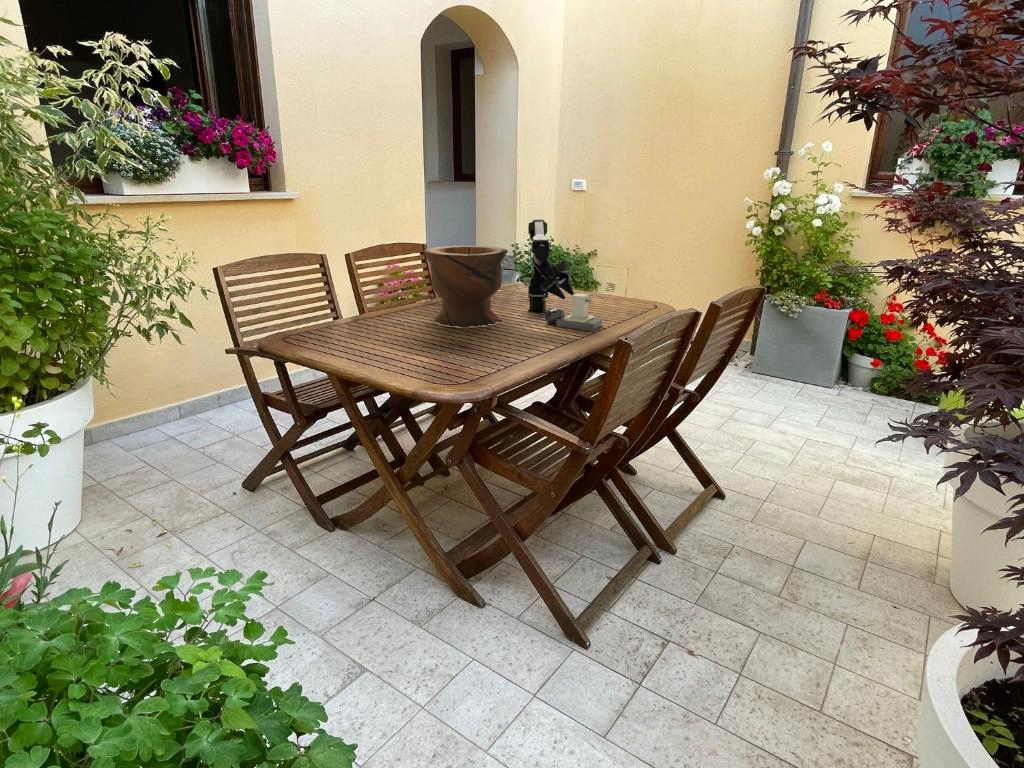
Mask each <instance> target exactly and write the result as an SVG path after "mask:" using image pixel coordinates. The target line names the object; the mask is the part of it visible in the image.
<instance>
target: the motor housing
mask: <svg viewBox="0 0 1024 768" xmlns="http://www.w3.org/2000/svg"><path fill="white" fill-rule="evenodd" d="M544 317H545V322H546V323H549V324H556V326H557V327H556V328H563V327H565V328H564V329H571V328H575V329H574V330H579V329H583V330H582V331H586V330H591V331H590V332H594V331H596V330H598V329H600V328H601V327H602V326H603V318H597V317H595V315H591V314H588V318H586V319H585V320H584V319H575V318H572V313H571V314H565V310H563V309H559V308H546V310H545V316H544ZM600 326H601V327H600ZM597 328H598V329H597ZM595 329H596V330H595Z"/></svg>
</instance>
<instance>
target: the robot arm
mask: <svg viewBox="0 0 1024 768" xmlns="http://www.w3.org/2000/svg"><path fill="white" fill-rule="evenodd" d="M527 232H528V233H527V235H529V240H530V241H531V242H530V250H531V251H530V252H531V254H532V258H531V259H532V265H533V266H532V273H533V274H532V277H530V278H531V280H530V285H528V286H527V289H528V290H527V297H528V299H529V309H527V312H533V313H542V312H546V311H547V306H546V305H547V301H546V299H547V298H549V294H552V295H554V296H556V297H558V298H560V299H562V300H565V298H566V296H565V293H563V290H564V291H565V292H566V293H567V294H569V295H570V296H572V295H574V294H575V291H574V290H573V288H572V285H571V281H570V279H571V276H572V274H571V273H570V271H567V270H570V269H571V267H570V265H571V263H570V262H569V261H568V260H566V259H564V260H562V261H560V263H559V264H557V265H556V264H555V263H551V262H550V260H549V259H550V258H549V257H550V254H551V252H552V251H553V250H552V249H553V248H552V244H551V242H550V241H549V238H548V236H547V234H548V222H546V221H545V219H539V218H537V219H536V218H535V219H533V220H532V221H531V222H528V227H527Z"/></svg>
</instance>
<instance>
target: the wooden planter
mask: <svg viewBox="0 0 1024 768" xmlns="http://www.w3.org/2000/svg"><path fill="white" fill-rule="evenodd" d="M423 254H424V255H425V257H426V259H427V260H428V261H429V263H430V273H431V275H430V276H431V289H432V290H433V291H434V292H435V293H436V294H437V295H438V297H440V299H441V307H442V308H441V309H439V312H438V313H437V314H436V316H435V317H434V318H435V322H438V323H440V324H443V325H449V326H459V327H469V326H479V325H480V326H482V325H488V324H494V323H496V322H498V321H500V319H501V317H500V316H499V315H498V314H496V312H494V310H492V309H491V304H492V303H491V298H492V297H493V296H494V295H495V294H496V293H497V292H498V291H500V289H501V287H502V263H503V260H504V259H505V257H506V255H507V254H508V250H507V249H506V248H503V247H498V246H486V245H485V246H484V245H447V246H446V245H445V246H435V247H431V248H426V249H425V250H424V251H423ZM499 317H500V318H499Z"/></svg>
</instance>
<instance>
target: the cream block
mask: <svg viewBox="0 0 1024 768" xmlns="http://www.w3.org/2000/svg"><path fill="white" fill-rule="evenodd" d="M591 303H592V298H589V293H587V294H586V293H574V295H571V314H572V318H575V319H584V320H585V319H586V318H588V315H589V313H588V312H589V304H591Z"/></svg>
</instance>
